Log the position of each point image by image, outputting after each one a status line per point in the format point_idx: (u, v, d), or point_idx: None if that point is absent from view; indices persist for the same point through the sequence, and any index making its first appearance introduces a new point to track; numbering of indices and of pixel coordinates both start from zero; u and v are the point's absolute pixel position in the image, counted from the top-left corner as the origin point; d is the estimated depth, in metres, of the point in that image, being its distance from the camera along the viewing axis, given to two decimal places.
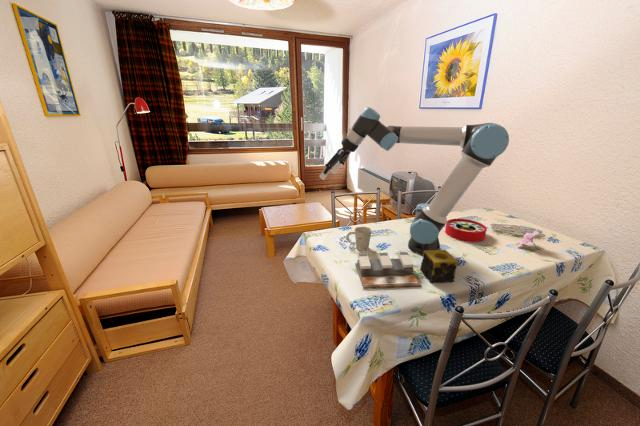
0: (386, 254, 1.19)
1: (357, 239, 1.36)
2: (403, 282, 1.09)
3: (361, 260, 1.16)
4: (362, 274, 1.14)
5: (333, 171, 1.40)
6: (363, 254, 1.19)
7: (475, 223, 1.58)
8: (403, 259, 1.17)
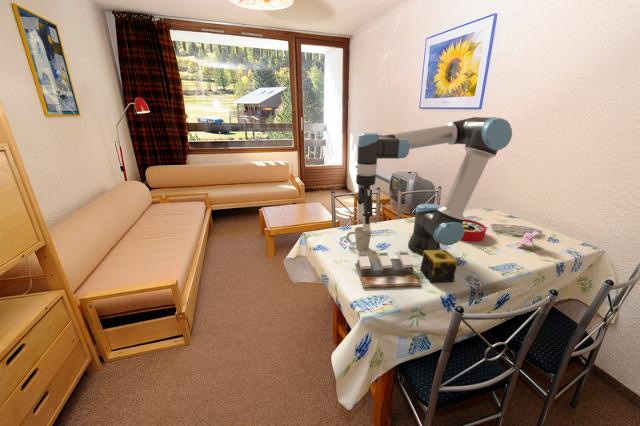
0: (386, 254, 1.19)
1: (357, 239, 1.36)
2: (403, 282, 1.09)
3: (361, 260, 1.16)
4: (362, 274, 1.14)
5: (360, 216, 1.21)
6: (363, 254, 1.19)
7: (475, 223, 1.58)
8: (403, 259, 1.17)
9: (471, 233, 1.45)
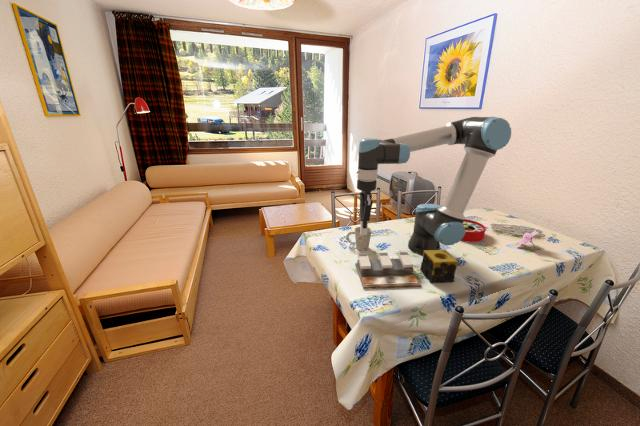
0: (386, 254, 1.19)
1: (357, 239, 1.36)
2: (403, 282, 1.09)
3: (361, 260, 1.16)
4: (362, 274, 1.14)
5: None
6: (363, 254, 1.19)
7: (474, 223, 1.58)
8: (403, 259, 1.17)
9: (471, 233, 1.45)
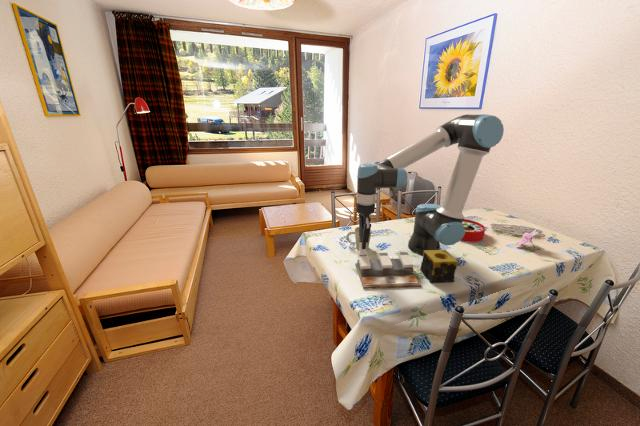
0: (386, 254, 1.19)
1: (357, 239, 1.36)
2: (403, 282, 1.09)
3: (361, 260, 1.16)
4: (362, 274, 1.14)
5: None
6: None
7: (474, 223, 1.58)
8: (403, 259, 1.17)
9: (470, 233, 1.45)
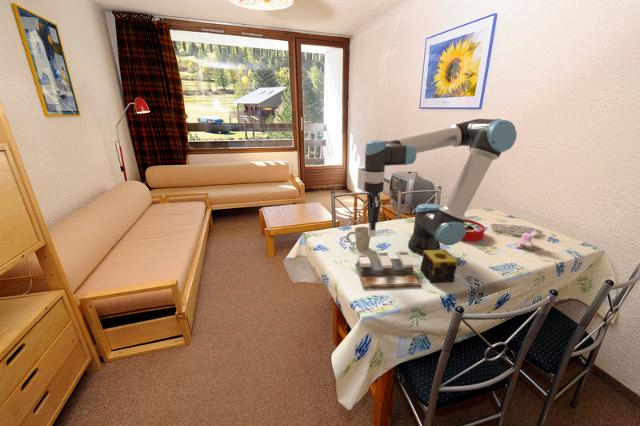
0: (386, 254, 1.19)
1: (357, 239, 1.36)
2: (403, 282, 1.09)
3: (361, 259, 1.16)
4: (362, 274, 1.14)
5: None
6: (363, 256, 1.20)
7: (474, 223, 1.58)
8: (403, 259, 1.17)
9: (469, 233, 1.45)
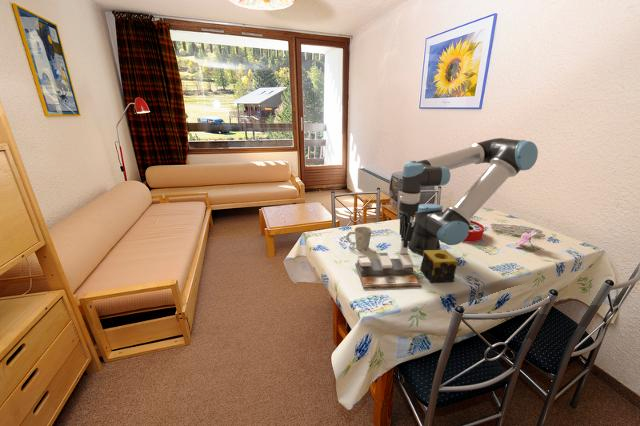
0: (386, 254, 1.19)
1: (357, 239, 1.36)
2: (403, 282, 1.09)
3: (361, 259, 1.16)
4: (362, 274, 1.14)
5: None
6: (363, 256, 1.20)
7: (473, 223, 1.58)
8: (403, 259, 1.17)
9: (469, 233, 1.45)
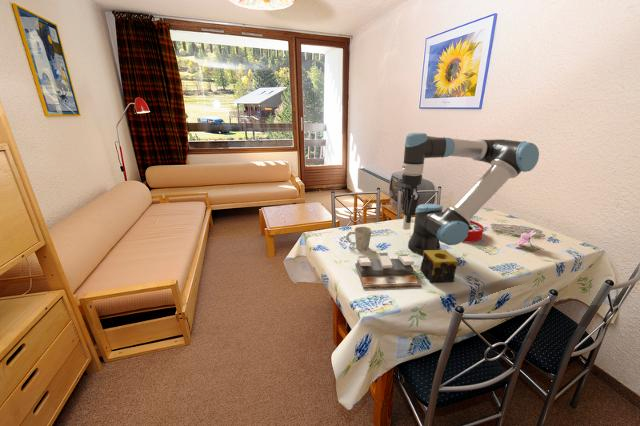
0: (386, 254, 1.19)
1: (357, 239, 1.36)
2: (403, 282, 1.09)
3: (361, 259, 1.16)
4: (362, 274, 1.14)
5: None
6: (363, 256, 1.20)
7: (472, 223, 1.58)
8: (403, 258, 1.17)
9: (468, 233, 1.45)
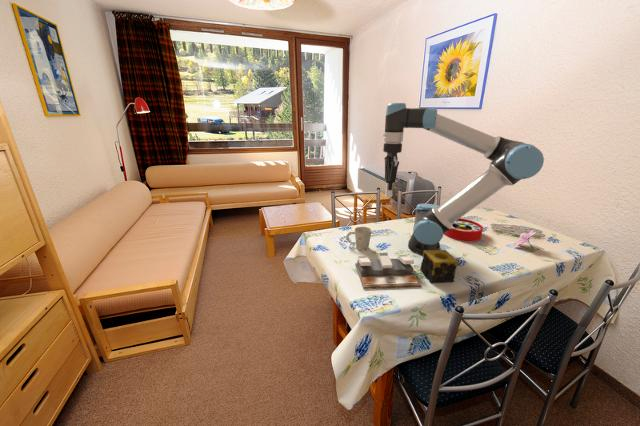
0: (386, 254, 1.19)
1: (357, 239, 1.36)
2: (403, 282, 1.09)
3: (361, 259, 1.16)
4: (362, 274, 1.14)
5: None
6: (363, 256, 1.20)
7: (472, 223, 1.59)
8: (403, 258, 1.17)
9: (467, 233, 1.45)
